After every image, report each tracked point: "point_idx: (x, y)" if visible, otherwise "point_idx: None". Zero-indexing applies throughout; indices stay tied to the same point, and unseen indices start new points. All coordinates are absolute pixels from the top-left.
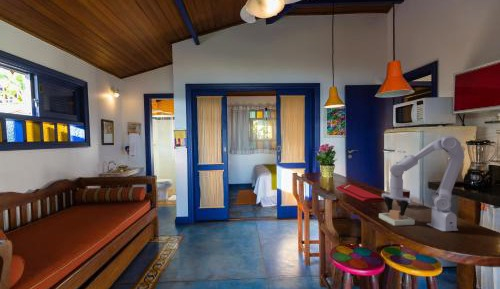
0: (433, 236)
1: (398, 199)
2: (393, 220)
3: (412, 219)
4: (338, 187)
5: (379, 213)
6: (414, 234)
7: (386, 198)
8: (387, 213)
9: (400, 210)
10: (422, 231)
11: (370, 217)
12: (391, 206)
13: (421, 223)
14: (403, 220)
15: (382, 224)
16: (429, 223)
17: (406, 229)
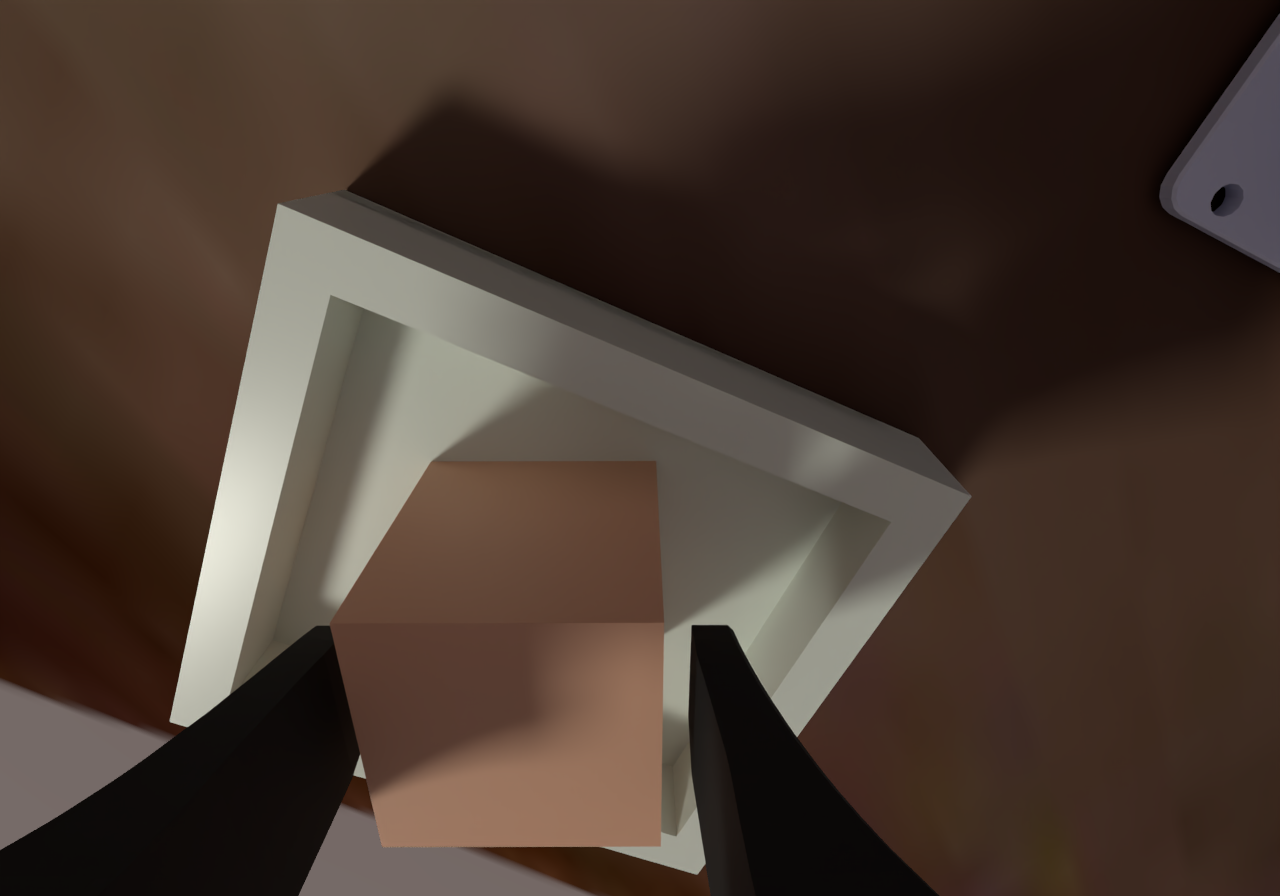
0: None
1: None
2: (666, 865)
3: (920, 524)
4: None
5: (178, 715)
6: (1053, 856)
7: None
8: (251, 569)
9: (583, 651)
10: (1132, 673)
11: (143, 726)
12: (251, 777)
13: (1016, 195)
14: (796, 734)
15: (531, 852)
16: (1238, 111)
17: (895, 776)
